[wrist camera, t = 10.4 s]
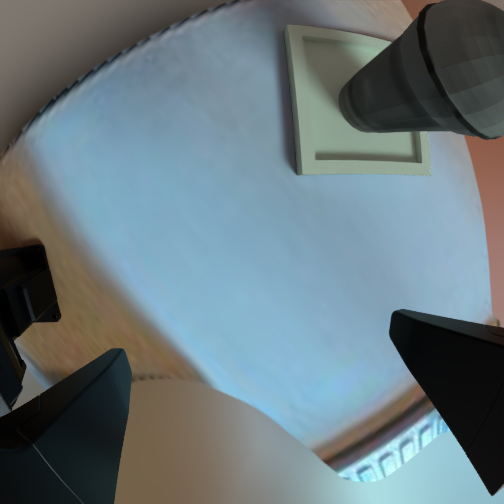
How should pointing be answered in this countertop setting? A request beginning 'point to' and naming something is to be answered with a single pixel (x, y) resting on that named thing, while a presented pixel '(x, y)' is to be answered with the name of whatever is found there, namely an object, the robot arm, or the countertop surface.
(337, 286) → the countertop surface
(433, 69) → the beverage cup
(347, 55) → the tray
